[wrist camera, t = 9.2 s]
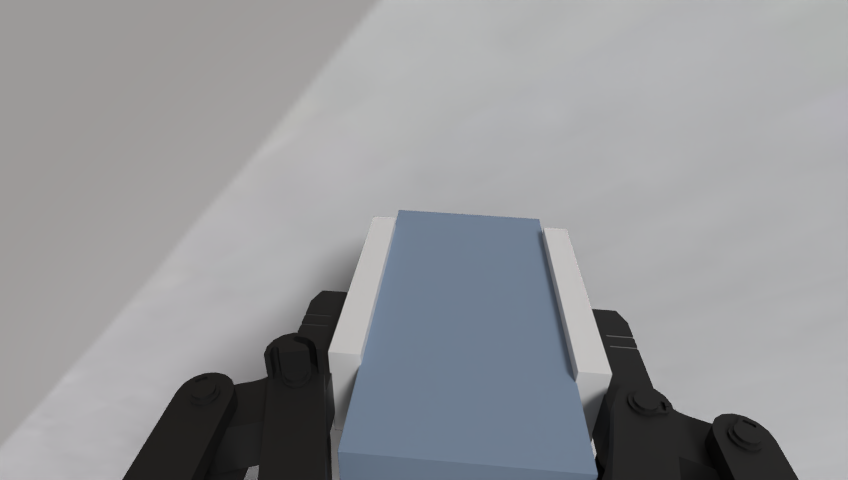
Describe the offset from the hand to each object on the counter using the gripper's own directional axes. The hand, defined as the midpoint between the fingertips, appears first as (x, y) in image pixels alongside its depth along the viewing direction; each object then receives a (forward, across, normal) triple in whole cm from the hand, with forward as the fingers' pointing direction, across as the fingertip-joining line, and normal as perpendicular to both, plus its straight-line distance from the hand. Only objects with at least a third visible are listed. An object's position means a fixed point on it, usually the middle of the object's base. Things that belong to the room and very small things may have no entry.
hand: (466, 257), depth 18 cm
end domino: (+1, 0, 0) cm, 1 cm away
